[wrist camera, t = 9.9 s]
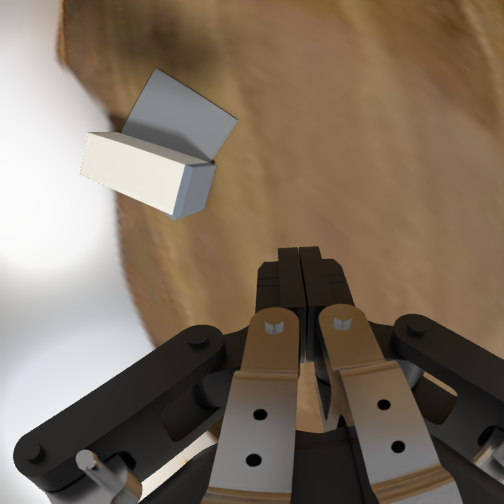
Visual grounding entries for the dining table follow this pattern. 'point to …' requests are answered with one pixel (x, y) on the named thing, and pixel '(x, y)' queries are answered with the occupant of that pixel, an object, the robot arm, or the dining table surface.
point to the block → (148, 172)
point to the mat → (178, 119)
